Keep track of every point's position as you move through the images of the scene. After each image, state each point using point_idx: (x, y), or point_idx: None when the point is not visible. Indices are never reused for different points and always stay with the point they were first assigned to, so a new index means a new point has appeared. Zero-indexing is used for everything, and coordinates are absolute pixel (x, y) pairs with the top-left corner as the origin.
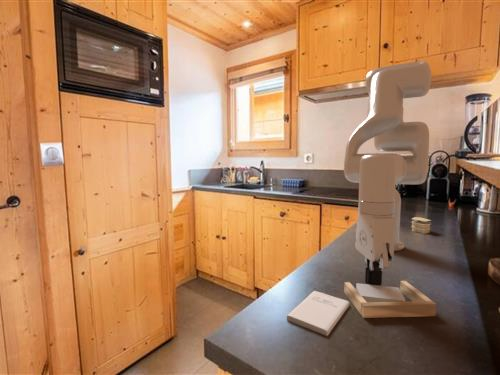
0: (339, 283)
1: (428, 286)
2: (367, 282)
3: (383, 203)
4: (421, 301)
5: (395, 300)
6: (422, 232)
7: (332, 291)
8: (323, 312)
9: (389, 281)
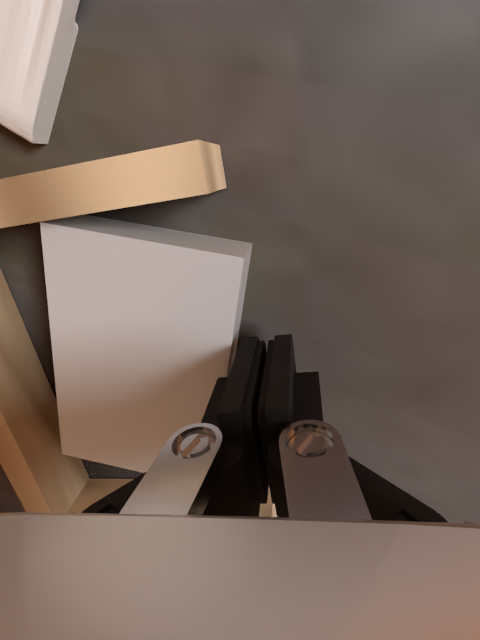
0: (384, 135)
1: None
2: (249, 344)
3: None
4: (45, 508)
5: (59, 412)
6: None
7: (227, 36)
8: None
9: (398, 482)
